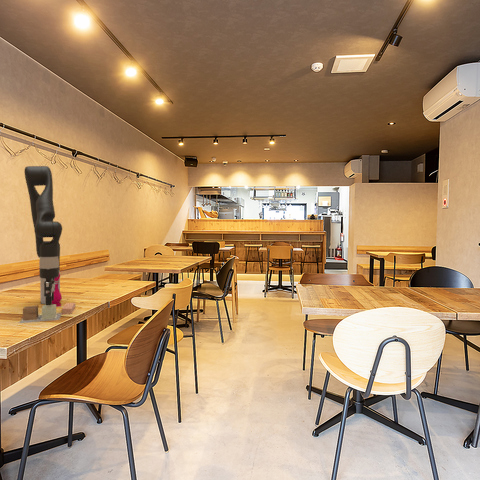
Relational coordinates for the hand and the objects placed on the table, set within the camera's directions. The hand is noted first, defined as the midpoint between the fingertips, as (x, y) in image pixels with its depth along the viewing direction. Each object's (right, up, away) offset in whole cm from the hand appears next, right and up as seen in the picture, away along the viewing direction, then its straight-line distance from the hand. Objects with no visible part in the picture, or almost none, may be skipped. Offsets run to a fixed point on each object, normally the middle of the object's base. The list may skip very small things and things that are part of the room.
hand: (49, 302), depth 150 cm
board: (-3, -8, -1) cm, 8 cm away
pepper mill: (-11, -7, +23) cm, 27 cm away
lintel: (+3, -7, +11) cm, 14 cm away
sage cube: (0, -6, 0) cm, 6 cm away
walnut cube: (-7, -6, -3) cm, 10 cm away
